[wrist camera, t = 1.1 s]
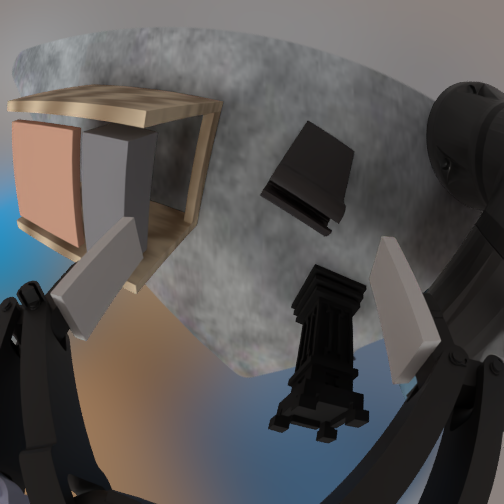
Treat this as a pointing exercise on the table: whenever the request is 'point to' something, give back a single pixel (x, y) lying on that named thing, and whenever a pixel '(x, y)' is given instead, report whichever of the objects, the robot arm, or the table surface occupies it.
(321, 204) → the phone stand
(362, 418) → the chess piece
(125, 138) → the trapdoor
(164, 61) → the table surface
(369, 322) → the table surface
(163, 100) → the frame
